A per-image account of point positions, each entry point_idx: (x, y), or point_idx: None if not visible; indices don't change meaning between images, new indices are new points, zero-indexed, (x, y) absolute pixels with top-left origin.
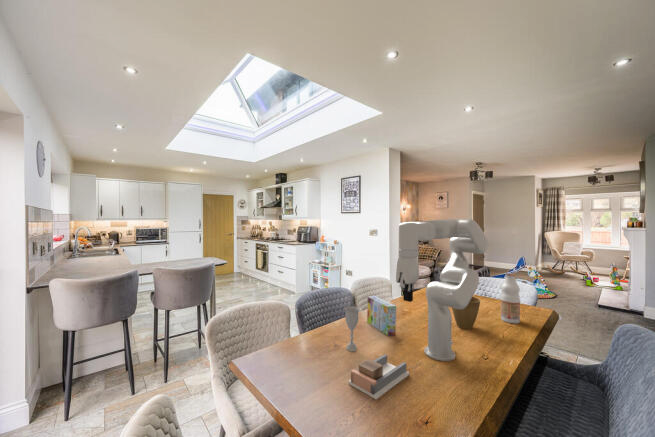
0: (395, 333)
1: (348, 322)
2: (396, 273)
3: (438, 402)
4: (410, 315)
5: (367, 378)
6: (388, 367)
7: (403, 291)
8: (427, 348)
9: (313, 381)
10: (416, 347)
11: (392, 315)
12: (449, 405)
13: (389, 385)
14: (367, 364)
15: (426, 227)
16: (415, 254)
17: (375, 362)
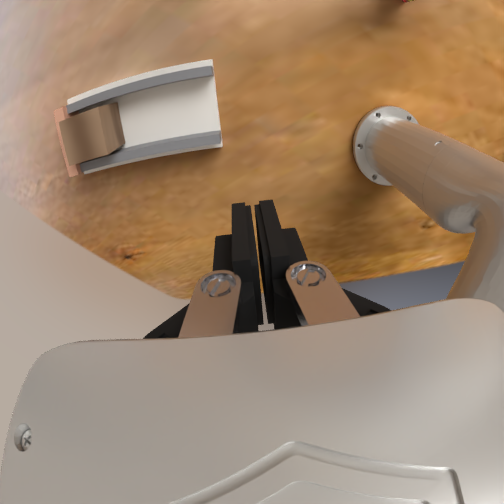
0: (407, 1)
1: None
2: (2, 493)
3: (187, 242)
4: None
5: (66, 158)
6: (193, 97)
7: (233, 250)
8: (388, 114)
9: (25, 64)
10: (383, 79)
11: None
12: (198, 257)
13: (131, 160)
14: (76, 131)
15: None
16: None
17: (100, 132)
